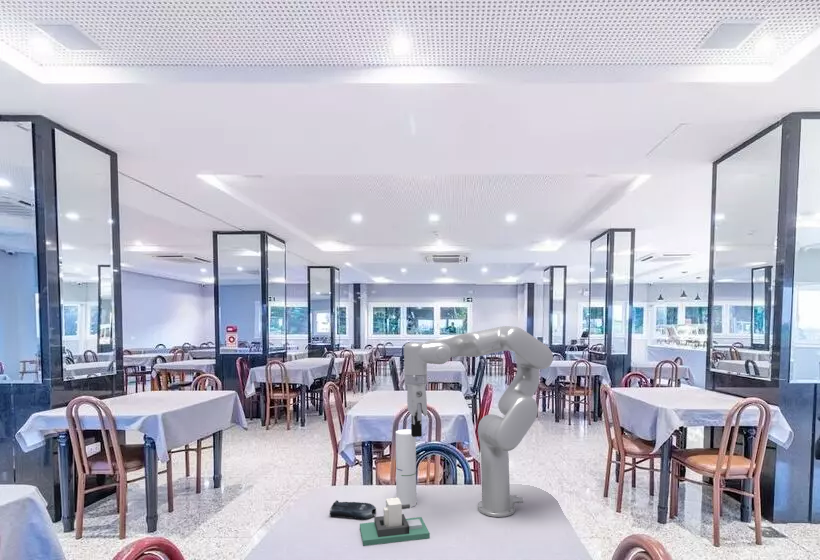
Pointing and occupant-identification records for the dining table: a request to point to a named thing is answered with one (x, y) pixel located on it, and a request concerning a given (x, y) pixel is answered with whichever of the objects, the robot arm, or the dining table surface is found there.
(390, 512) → the keyed plug
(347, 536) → the dining table surface
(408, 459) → the cylindrical container
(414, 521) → the circuit board
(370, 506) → the electronic device
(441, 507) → the dining table surface
